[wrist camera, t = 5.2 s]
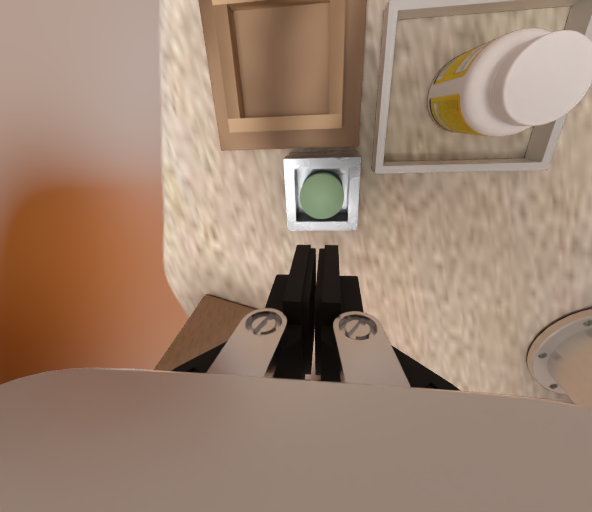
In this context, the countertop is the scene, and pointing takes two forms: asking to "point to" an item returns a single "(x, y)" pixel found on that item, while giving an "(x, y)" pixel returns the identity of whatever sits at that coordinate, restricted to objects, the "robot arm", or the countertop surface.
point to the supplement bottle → (512, 83)
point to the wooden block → (203, 331)
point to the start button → (322, 194)
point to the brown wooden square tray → (285, 71)
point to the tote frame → (432, 3)
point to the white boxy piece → (308, 162)
